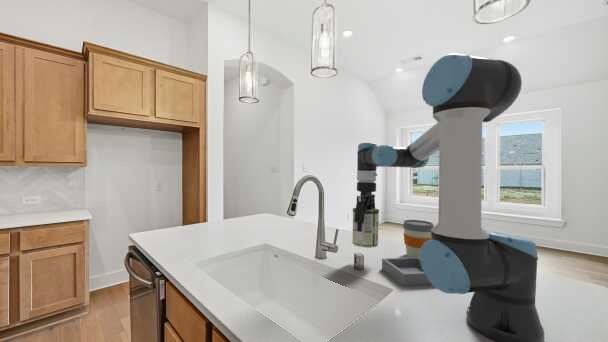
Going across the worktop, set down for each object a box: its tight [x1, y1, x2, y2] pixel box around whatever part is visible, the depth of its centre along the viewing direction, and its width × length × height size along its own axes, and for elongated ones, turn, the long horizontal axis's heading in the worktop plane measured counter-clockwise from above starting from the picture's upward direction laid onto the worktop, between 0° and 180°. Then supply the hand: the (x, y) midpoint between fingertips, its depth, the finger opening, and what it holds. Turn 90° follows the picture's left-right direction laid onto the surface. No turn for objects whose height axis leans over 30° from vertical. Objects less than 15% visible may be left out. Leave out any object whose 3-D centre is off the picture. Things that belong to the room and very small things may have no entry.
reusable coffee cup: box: [402, 219, 435, 258], centre depth 118 cm, size 13×13×15 cm
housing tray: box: [381, 257, 433, 287], centre depth 96 cm, size 15×15×4 cm
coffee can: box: [351, 207, 380, 249], centre depth 107 cm, size 10×10×14 cm
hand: (365, 237), depth 107 cm, fingers closed on coffee can, 10 cm apart
